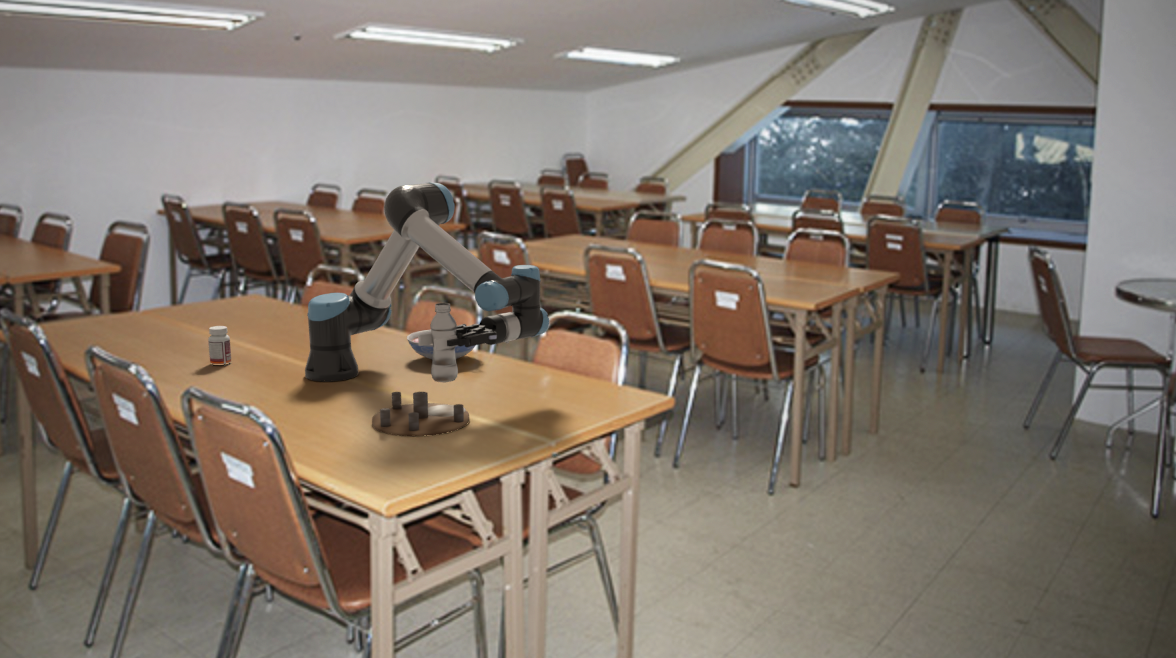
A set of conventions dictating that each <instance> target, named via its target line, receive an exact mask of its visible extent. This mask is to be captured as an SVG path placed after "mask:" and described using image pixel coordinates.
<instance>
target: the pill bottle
mask: <svg viewBox="0 0 1176 658" xmlns="http://www.w3.org/2000/svg"><path fill="white" fill-rule="evenodd" d="M208 329H209V330H208V331H209V333H208V334H209V335H210V336H209V337H208V339H207V341H208V352H209V353H208V354H209V363H212V364H226V363H230V362H231V363H232V353H231V352H232V351H231V348H232V347H231V337H230V335H228V327H227V326H224V325H216V326H215V325H214V326H210V327H209V328H208ZM231 363H230V364H231Z"/></svg>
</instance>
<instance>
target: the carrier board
mask: <svg viewBox="0 0 1176 658" xmlns="http://www.w3.org/2000/svg"><path fill="white" fill-rule="evenodd" d="M428 395H429V394H428V392H427V391H415V392H413V393H412V402H413V403H407V404H402V392H401V391H393V392H391V407H388V408H381V409H379V411H377V412H376V413H375V414H373V416H372V417H371V423H372V424H371V425H372V427H373V429H374V430H375V431H378V432H380V433H383V434H387V435H392V436H397V435H399V437H428V436H427V435H432V436H437V435H436V434H439V435H443V434H442V433H444V434H448V433H447V432H449V433H452V432H455V430H456V431H458V430H461V429H462V427H463V428H465V425H466V426H467V425H468V424H469V423H468V422H470V412H468V410H466V408H465V407H464V404H461V403H455V404H448V403H447V404H446V403H435V402H429V398H428V397H429V396H428ZM467 423H468V424H467ZM460 428H461V429H460ZM457 429H458V430H457ZM451 431H452V432H451ZM424 435H426V436H424Z"/></svg>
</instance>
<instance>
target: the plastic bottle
mask: <svg viewBox="0 0 1176 658" xmlns="http://www.w3.org/2000/svg"><path fill="white" fill-rule="evenodd" d="M434 308H435V309H434V312H435V315H434V316H433V318H432V319H431V321H430V330H431V334H432V340H433V360H432V363H431V370H430V374H431V378H432V379H433V381H434V382H436V383H437V382H438V383H443V384H444V383H451V382H454V381H456V379H457V378H458V375H459V374H458V373H459V369H458V364H457V359H456V357H455V347H451V348H446V349H441V350H434V339H438V338H443V337H449V336H454V335H456V328H457V326H458V324H457V322H456V318H454V317H453V315H452V314H451V311H452V308H451V303H448V302H438V303H435V304H434Z"/></svg>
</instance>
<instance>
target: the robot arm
mask: <svg viewBox="0 0 1176 658" xmlns="http://www.w3.org/2000/svg"><path fill="white" fill-rule="evenodd" d="M384 201H385V202H384V206H383V212H384V215H385V219H386V221H387V222H388V224H389V225H390V227H391V229H393V230H392V233H391V234H390V236H389V238H388V239H387V241H386V243H385V244H384V247H383V248H382V249H381V251H380V253H379V255H378V257H377V259H375V262H374V263H373V265H372V267H371V269H370V270H369V272H368V273H367V275H366V277H365V279H364V280H359V281H358V282H357V283H356V284H355V285H354V287H353V289H352V290H351V292H350V293H349V294H348V295H347V293H344V292H330V293H324V294H320V295H316V296H315V297H312V298H311V299H310V300H309V301H308V303H307V323H308V333H309V335H308V336H309V354H308V357H307V361H306V364H305V368H304V374H305V375H304V377H305V379H307V380H309V381H314V382H339V381H346V380H350V379H353V378H355V377H357V376H358V375H359V373H360V372H359V365H358V363H357V360H356V357H355V354H354V351H353V350H352V336H355V335H359V334H362V333H366V332H370V331H371V332H372V331H375V330H377V329H379V328H381V327H384V326H385V325H387V323H388V321H389V320H390V318H391V315H392V311H393V310H392V309H391V308H392V297H391V294H392V293H393V291H394V289H395V288H396V286H397V285H398V282H399V281H400V279H401V278H402V276H403V274H404V273H405V271H406V270H407V268H408V266H409V265H410V263H411V261H412V259H413V258H414V256H415V254H416V253H417V252H418V250H419V248H421V249H422V250H423V251H424V252H425V253H426V254H428V255H429V256H430V257H431V258H432V259H433V260H435V262H437V263H438V264H439V265H440V266H442V267H443V268H444V269H445V270H447V272H449V273H450V274H451V275H452V276H454V277H455V278H456V279H457V280H458V281H460V283H462V284H463V285H465V287H467V288H468V289H469V290H470V291H472V293H474V299H475V302H476V304H477V306H478V307H479V308H480V309H481V310H483V311H485V312H493V311H500V310H503V309H505V308H508V307H512V311H509V312H504V313H498V314H493V315H488V316H484V317H483V318H481V321H480V322H479V323H474V324H471V325H467V324H466V323H462V324H457V328H456V335H454V336H449V337H443V338H438V339H434V350H441V349H446V348H451V347H456V346H457V345H458V346H460V347H461V346H464V345H465V347H471V346H475V345H476V346H479V345H483V344H486V345H489V346H493V345H498V344H501V343H505V344H509V343H510V341H515V340H520V339H521V340H522V339H526V338H534V337H537V336H540V335H543V334H545V333H546V332H547V330H549V327H550V326H549V325H550V318H549V316H548V315H549V314H548V312H547V311H546V310H545V309H544V308H542V307H541V281H542V280H541V275H540V269H539V267H538V266H536V265H533V264H531V265H530V264H520V265H519V264H518V265H514V266H513V267H512V269H511V274H510V276H505V277H501V276H499V274H497V273H496V272H495V271H493V270H492V269H491V268H490V267H489V266H488V265H486V264H485V263H483V262H482V261H481V260H480V259H479V258H478V257H476V255H474V254H473V253H472V252H471V251H469V250H468V249H467V248H466V247H464V246H463V244H461V243H460V242H459V241H458V240H457V239H455V238H454V237H453V236H452V235H450V234H449V233H448V232H447V231H446V230H444V229H443V228H442V227H441V226H440V225H444V224H446V223H448V222H450V221H451V220H452V218H453V216H454V213H455V203H454V197H453V195H452V192H451V191H450V190H449V189H448V188H447V186H445V185H443V183H442V184H441V183H439V182H425V183H417V184H405V185H399V186H397V187H396V188H393V189H392V190H391V191H390V192H389V193H388V195H386V198H385V200H384ZM418 343H419V346H424V345H429V344H433V340H432V334H431V333H427V334H421V335H418ZM476 346H475V347H476Z"/></svg>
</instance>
